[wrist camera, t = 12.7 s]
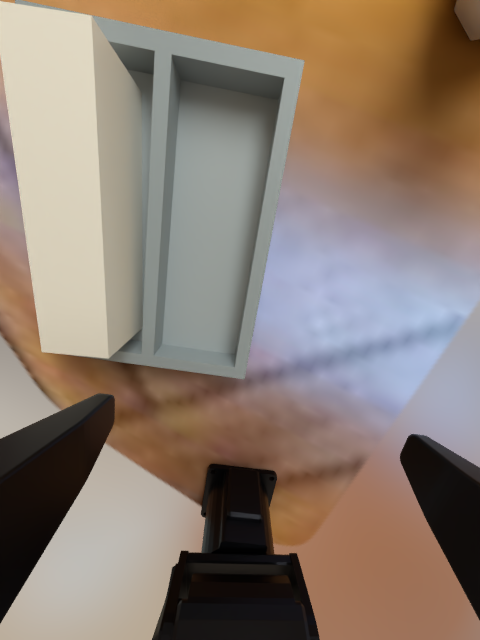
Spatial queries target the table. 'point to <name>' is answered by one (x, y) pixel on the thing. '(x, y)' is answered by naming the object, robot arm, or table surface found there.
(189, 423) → the table surface
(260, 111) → the divided grey tray
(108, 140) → the cream rectangular block
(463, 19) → the salt shaker
